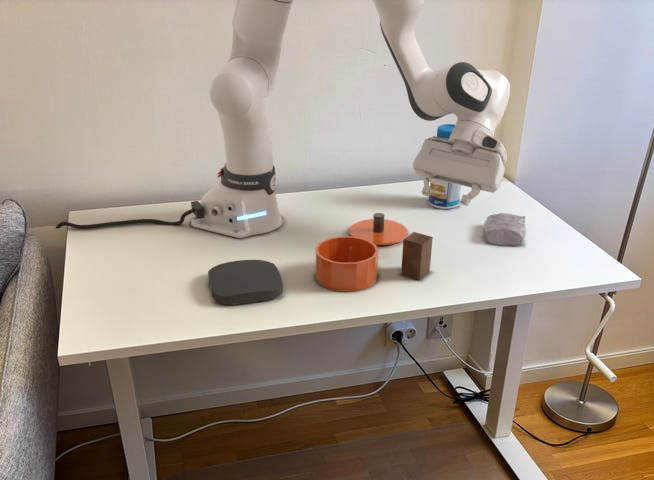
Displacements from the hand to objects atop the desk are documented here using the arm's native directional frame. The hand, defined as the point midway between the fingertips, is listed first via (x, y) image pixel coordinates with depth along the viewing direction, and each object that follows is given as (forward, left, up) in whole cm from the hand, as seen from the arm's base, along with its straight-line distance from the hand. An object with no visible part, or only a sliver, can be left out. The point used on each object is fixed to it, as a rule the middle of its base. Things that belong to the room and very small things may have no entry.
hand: (444, 199), depth 157 cm
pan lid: (-16, +7, -13) cm, 22 cm away
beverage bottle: (-4, +31, -14) cm, 34 cm away
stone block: (+13, +16, -14) cm, 24 cm away
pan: (-17, -16, -13) cm, 27 cm away
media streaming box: (-36, -27, -14) cm, 48 cm away
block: (-3, -10, -13) cm, 17 cm away
